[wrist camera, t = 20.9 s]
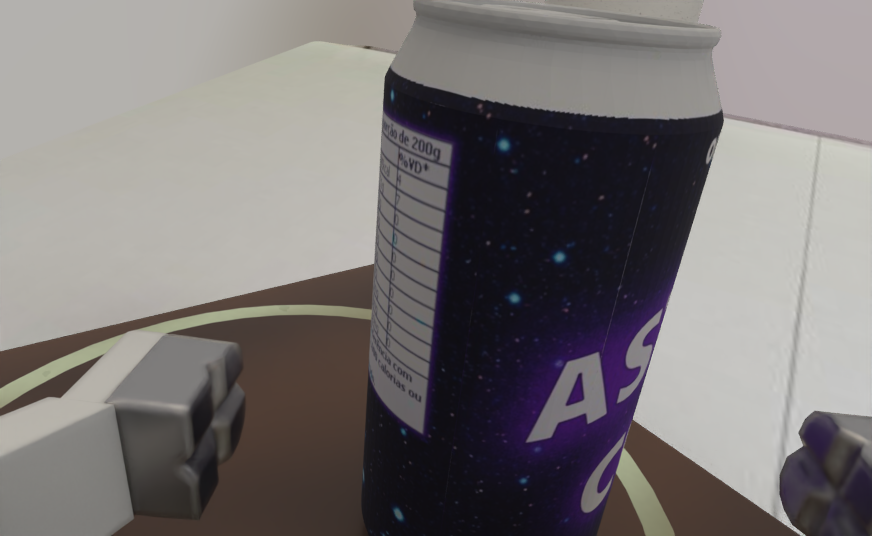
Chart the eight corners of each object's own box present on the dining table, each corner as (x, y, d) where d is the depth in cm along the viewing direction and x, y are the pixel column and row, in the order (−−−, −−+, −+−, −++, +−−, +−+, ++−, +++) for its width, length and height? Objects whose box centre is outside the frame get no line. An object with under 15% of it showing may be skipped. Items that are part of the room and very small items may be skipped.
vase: (689, 127, 74) (752, -98, 64) (632, 145, 62) (698, -128, 52) (569, 100, 84) (607, -99, 73) (500, 111, 72) (534, -125, 61)
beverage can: (498, 700, 11) (662, 33, 6) (311, 523, 15) (314, -17, 9) (626, 527, 15) (792, 33, 10) (457, 419, 19) (517, -2, 13)
